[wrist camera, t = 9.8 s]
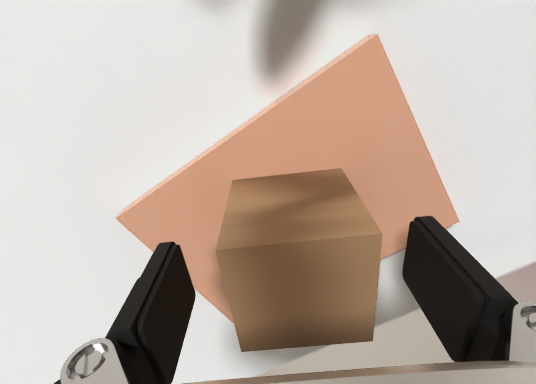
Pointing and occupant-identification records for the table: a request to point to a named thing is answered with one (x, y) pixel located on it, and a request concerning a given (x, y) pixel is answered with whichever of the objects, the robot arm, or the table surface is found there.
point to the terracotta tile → (304, 163)
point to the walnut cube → (299, 261)
